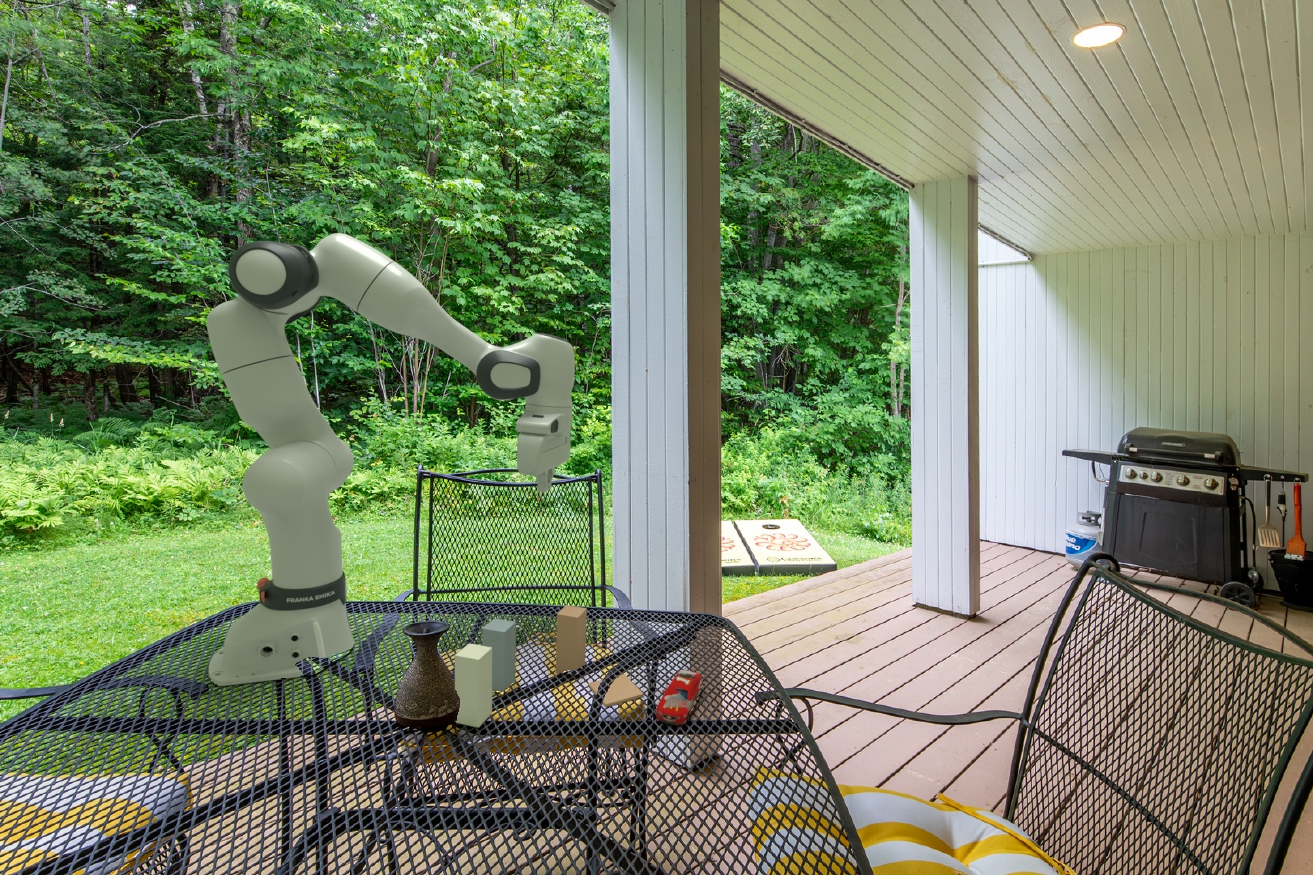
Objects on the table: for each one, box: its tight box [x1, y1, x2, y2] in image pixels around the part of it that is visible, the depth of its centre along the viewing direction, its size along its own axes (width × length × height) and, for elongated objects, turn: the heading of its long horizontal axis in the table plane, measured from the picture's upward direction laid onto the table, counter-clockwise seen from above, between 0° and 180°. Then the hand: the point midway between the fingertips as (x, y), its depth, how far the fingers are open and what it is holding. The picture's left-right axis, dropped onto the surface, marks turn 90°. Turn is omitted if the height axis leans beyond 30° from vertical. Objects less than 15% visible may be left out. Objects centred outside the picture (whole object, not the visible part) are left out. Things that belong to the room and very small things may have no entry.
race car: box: [655, 669, 703, 726], centre depth 104 cm, size 13×5×4 cm, turn 160°
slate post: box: [481, 617, 517, 691], centre depth 106 cm, size 4×4×11 cm
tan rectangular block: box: [555, 604, 588, 674], centre depth 113 cm, size 4×4×11 cm
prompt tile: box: [587, 673, 645, 708], centre depth 107 cm, size 7×7×1 cm
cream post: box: [454, 643, 493, 729], centre depth 97 cm, size 4×4×11 cm
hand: (544, 490), depth 123 cm, fingers closed
